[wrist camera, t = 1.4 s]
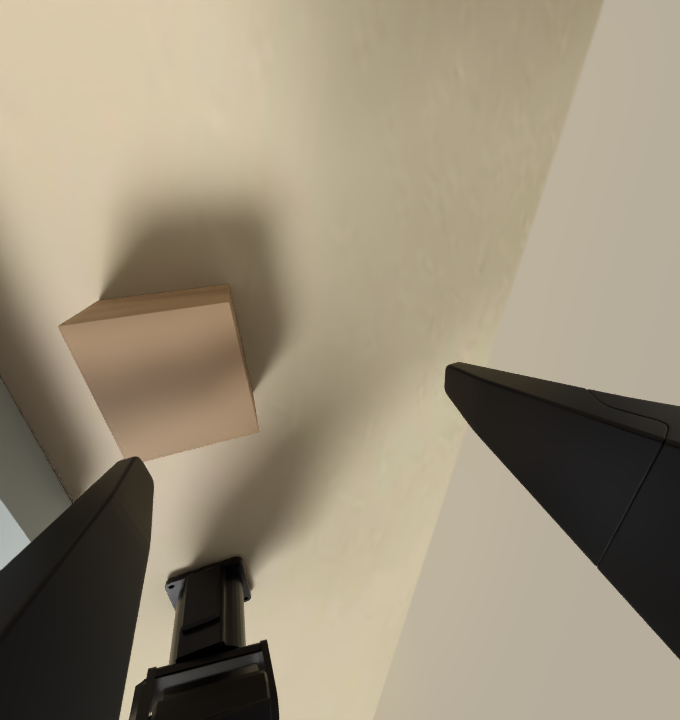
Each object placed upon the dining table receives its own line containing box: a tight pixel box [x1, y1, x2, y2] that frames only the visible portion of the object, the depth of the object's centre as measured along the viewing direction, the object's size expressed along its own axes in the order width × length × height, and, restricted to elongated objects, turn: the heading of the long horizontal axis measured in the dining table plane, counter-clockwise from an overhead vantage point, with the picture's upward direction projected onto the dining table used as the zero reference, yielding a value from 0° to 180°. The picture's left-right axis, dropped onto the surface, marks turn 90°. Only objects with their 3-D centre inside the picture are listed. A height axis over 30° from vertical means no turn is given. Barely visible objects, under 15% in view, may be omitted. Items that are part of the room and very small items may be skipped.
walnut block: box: [58, 284, 259, 462], centre depth 18 cm, size 8×7×5 cm
